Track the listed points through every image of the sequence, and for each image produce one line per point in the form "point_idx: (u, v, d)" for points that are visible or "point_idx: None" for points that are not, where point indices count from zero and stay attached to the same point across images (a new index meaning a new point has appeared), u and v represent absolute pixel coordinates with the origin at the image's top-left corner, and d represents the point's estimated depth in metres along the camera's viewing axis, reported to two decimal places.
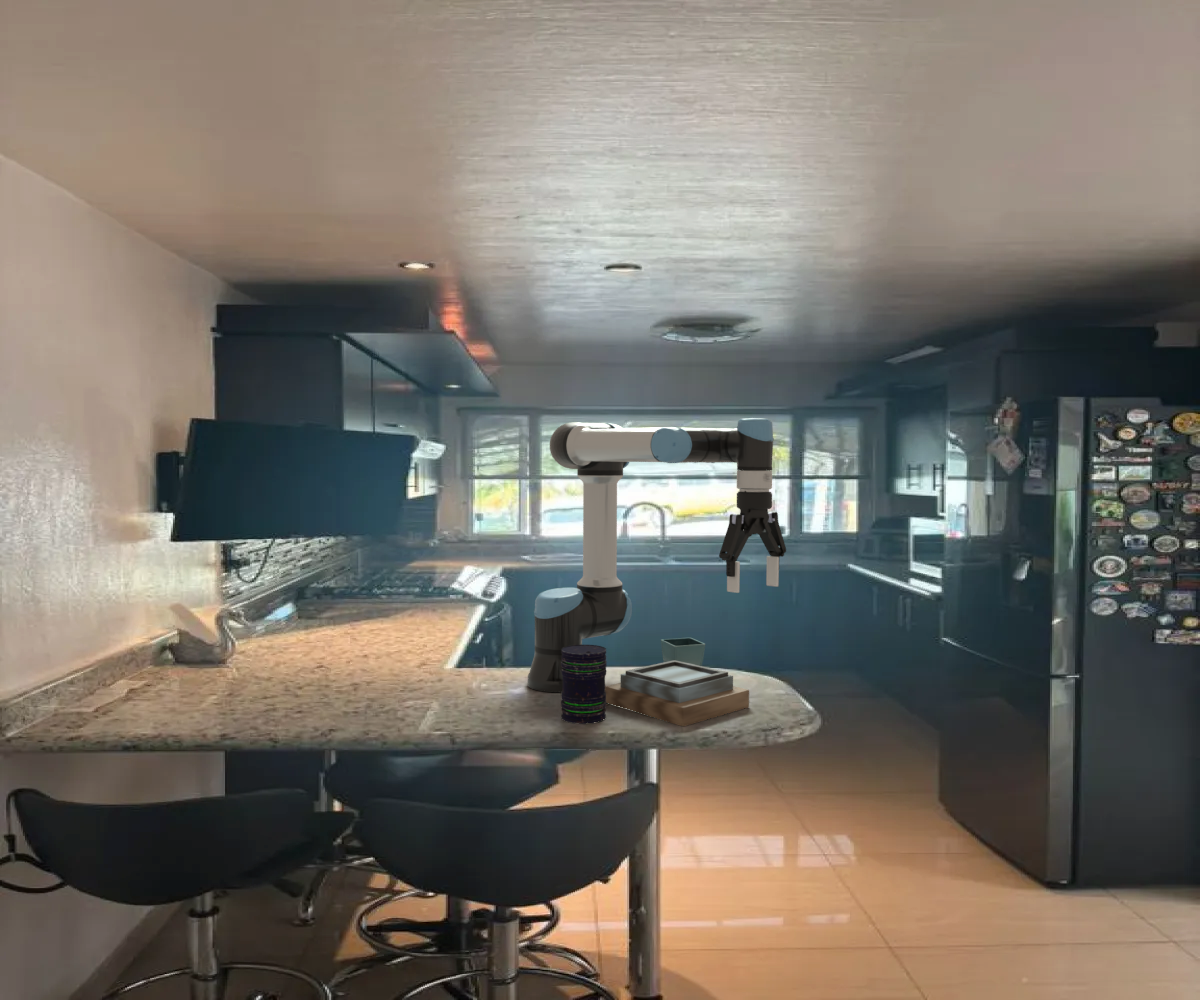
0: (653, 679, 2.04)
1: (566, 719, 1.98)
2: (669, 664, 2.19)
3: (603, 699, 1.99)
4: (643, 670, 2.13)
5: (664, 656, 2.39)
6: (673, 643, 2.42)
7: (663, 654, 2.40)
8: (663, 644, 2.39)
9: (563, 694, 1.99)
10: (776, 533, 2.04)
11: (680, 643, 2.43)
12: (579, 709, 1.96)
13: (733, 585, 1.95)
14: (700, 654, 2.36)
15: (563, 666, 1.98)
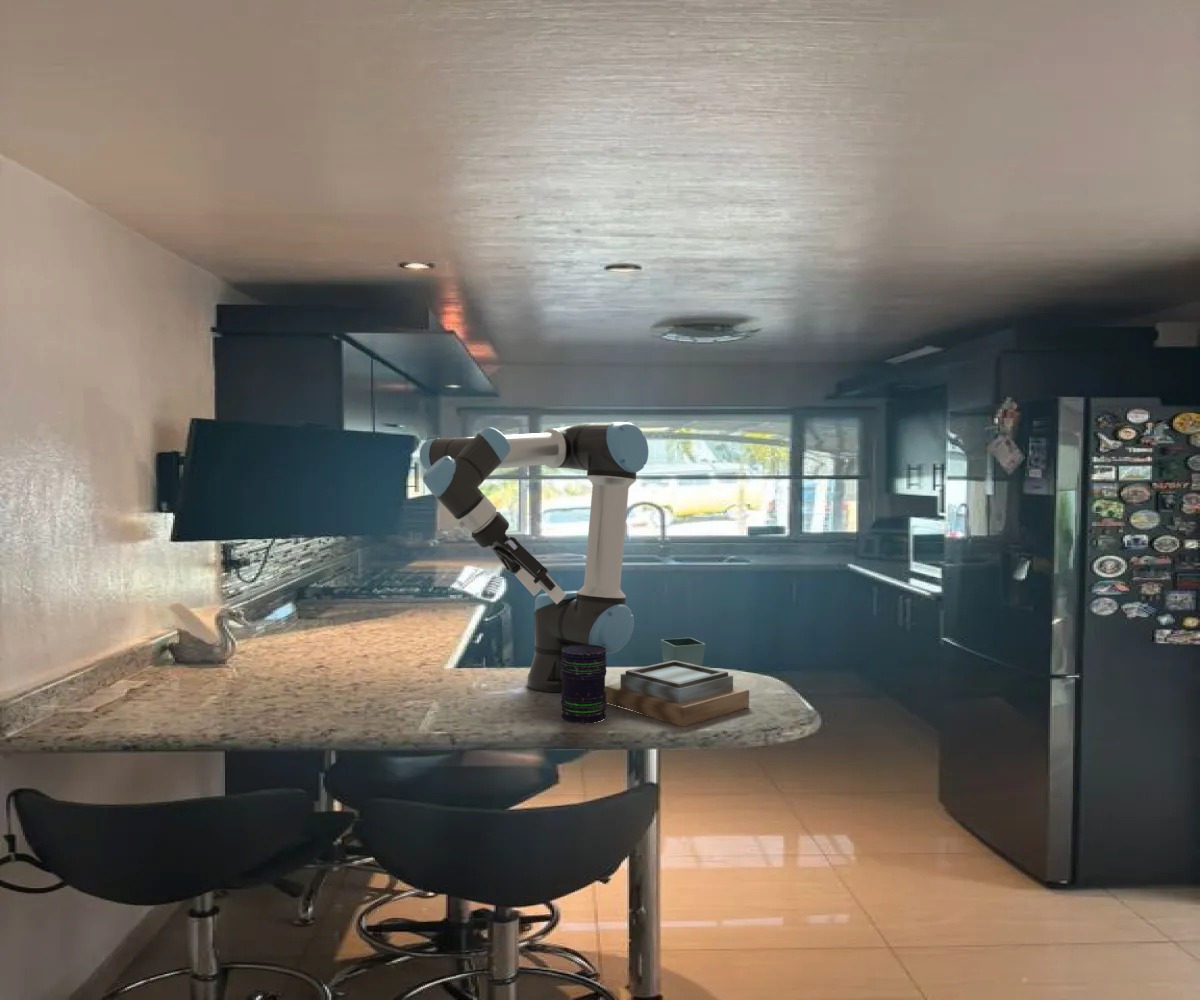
0: (653, 679, 2.04)
1: (566, 719, 1.98)
2: (669, 664, 2.19)
3: (603, 699, 1.99)
4: (643, 670, 2.13)
5: (664, 656, 2.39)
6: (673, 643, 2.42)
7: (663, 654, 2.40)
8: (663, 644, 2.39)
9: (563, 694, 1.99)
10: None
11: (680, 643, 2.43)
12: (579, 709, 1.96)
13: None
14: (700, 654, 2.36)
15: (563, 666, 1.98)
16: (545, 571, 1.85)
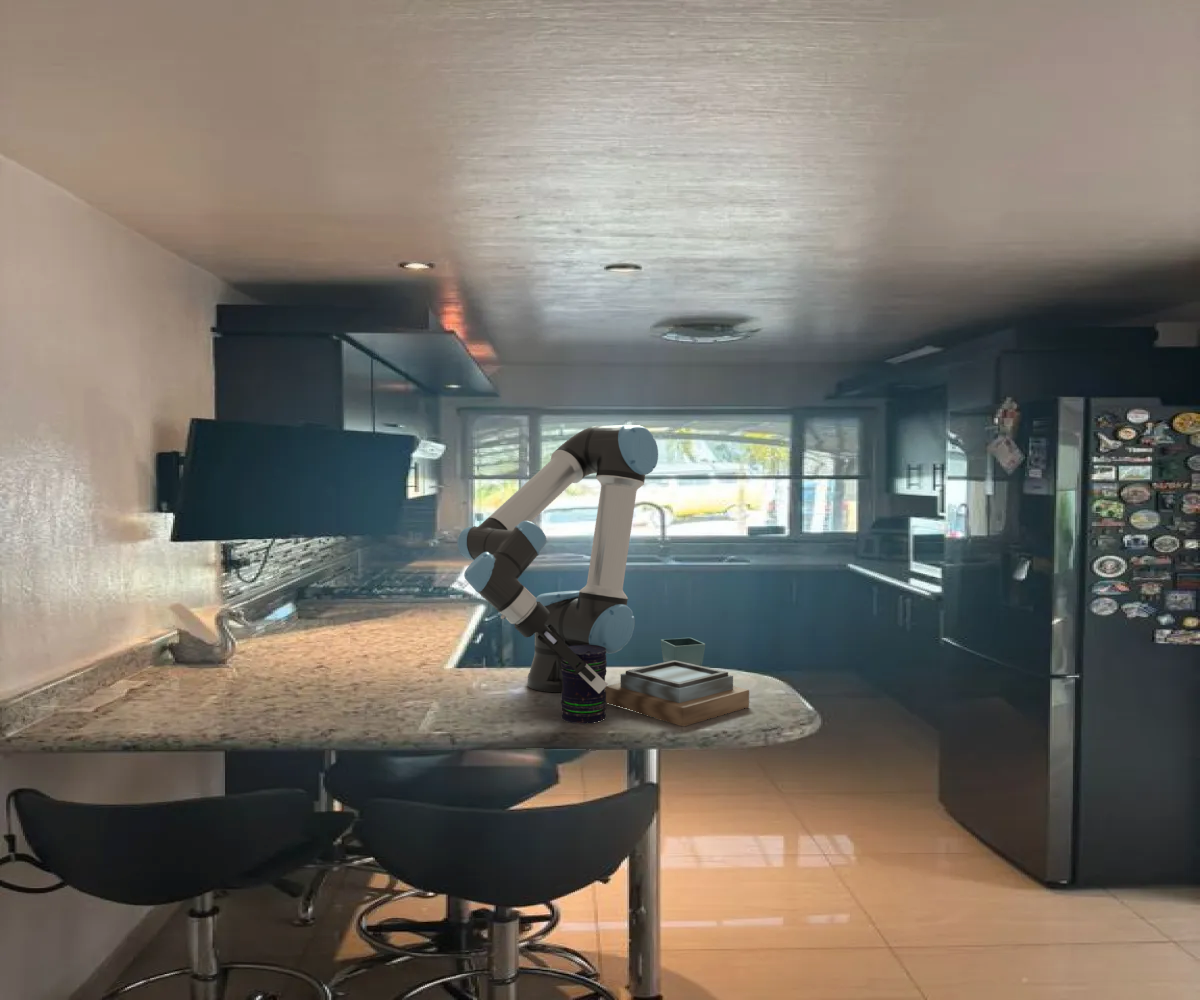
0: (653, 679, 2.04)
1: (566, 719, 1.98)
2: (669, 664, 2.19)
3: (603, 699, 1.99)
4: (643, 670, 2.13)
5: (664, 656, 2.39)
6: (673, 643, 2.42)
7: (663, 654, 2.40)
8: (663, 644, 2.39)
9: (563, 694, 1.99)
10: None
11: (680, 643, 2.43)
12: (579, 709, 1.96)
13: None
14: (700, 654, 2.36)
15: (563, 666, 1.98)
16: (583, 665, 1.92)
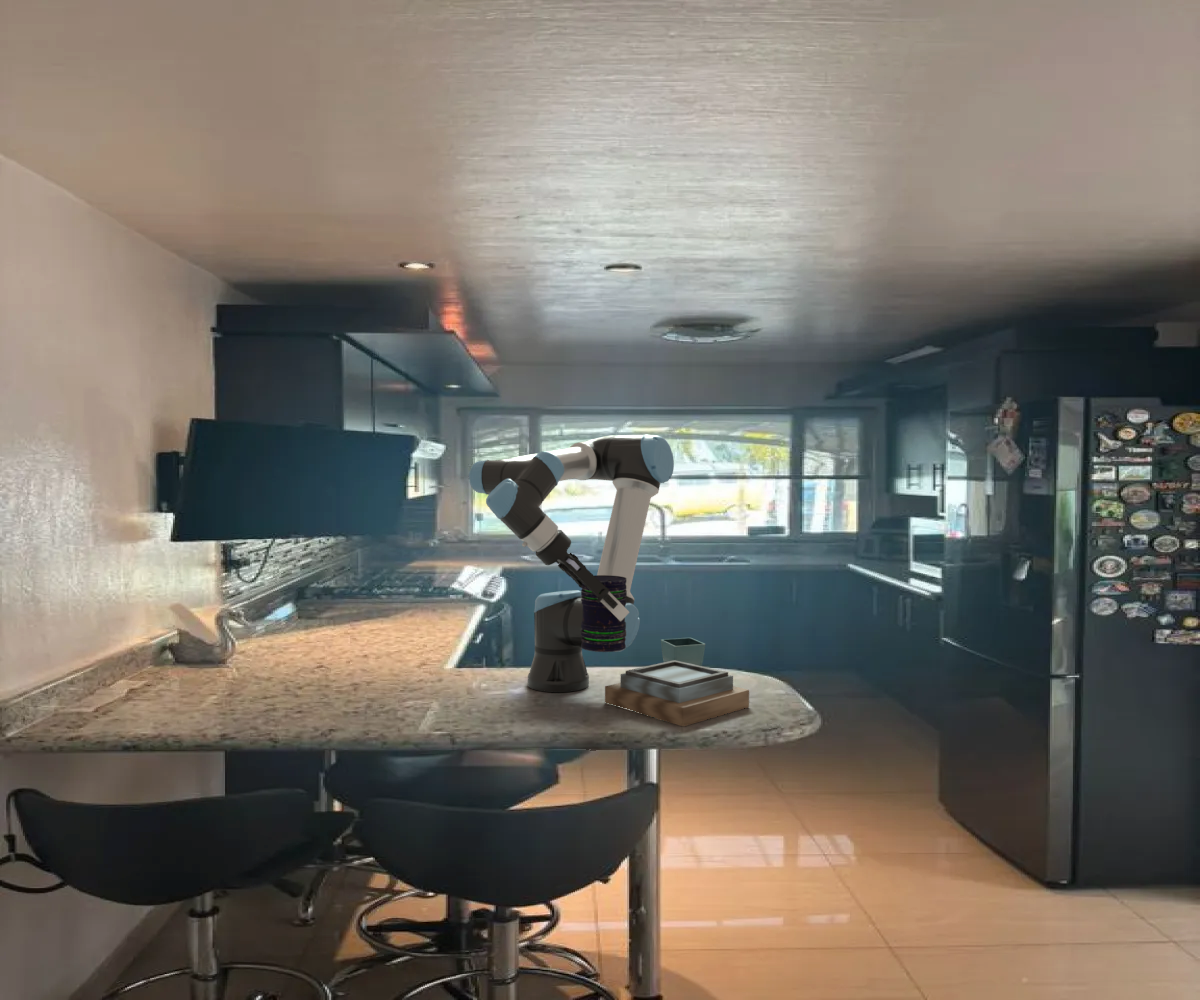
0: (653, 679, 2.04)
1: (587, 648, 1.97)
2: (669, 664, 2.19)
3: (624, 628, 1.98)
4: (643, 670, 2.13)
5: (664, 656, 2.39)
6: (673, 643, 2.42)
7: (663, 654, 2.40)
8: (663, 644, 2.39)
9: (583, 623, 1.98)
10: None
11: (680, 643, 2.43)
12: (601, 637, 1.96)
13: None
14: (700, 654, 2.36)
15: (584, 595, 1.97)
16: (607, 591, 1.91)
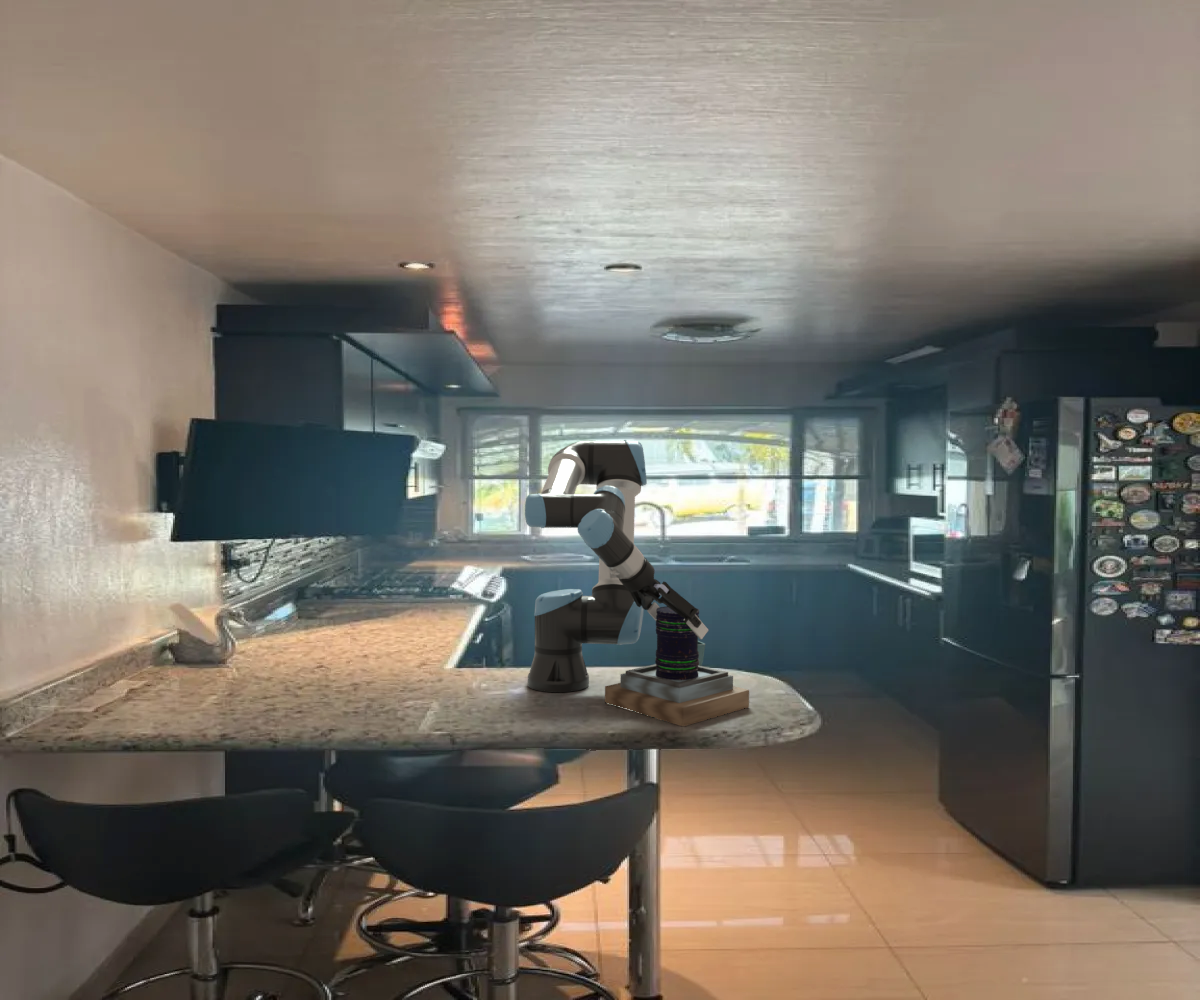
0: (653, 679, 2.04)
1: (667, 677, 2.06)
2: None
3: (698, 655, 2.09)
4: (643, 670, 2.13)
5: None
6: None
7: None
8: None
9: (662, 653, 2.07)
10: None
11: None
12: (683, 666, 2.05)
13: None
14: (700, 654, 2.36)
15: (664, 626, 2.06)
16: (696, 611, 2.00)
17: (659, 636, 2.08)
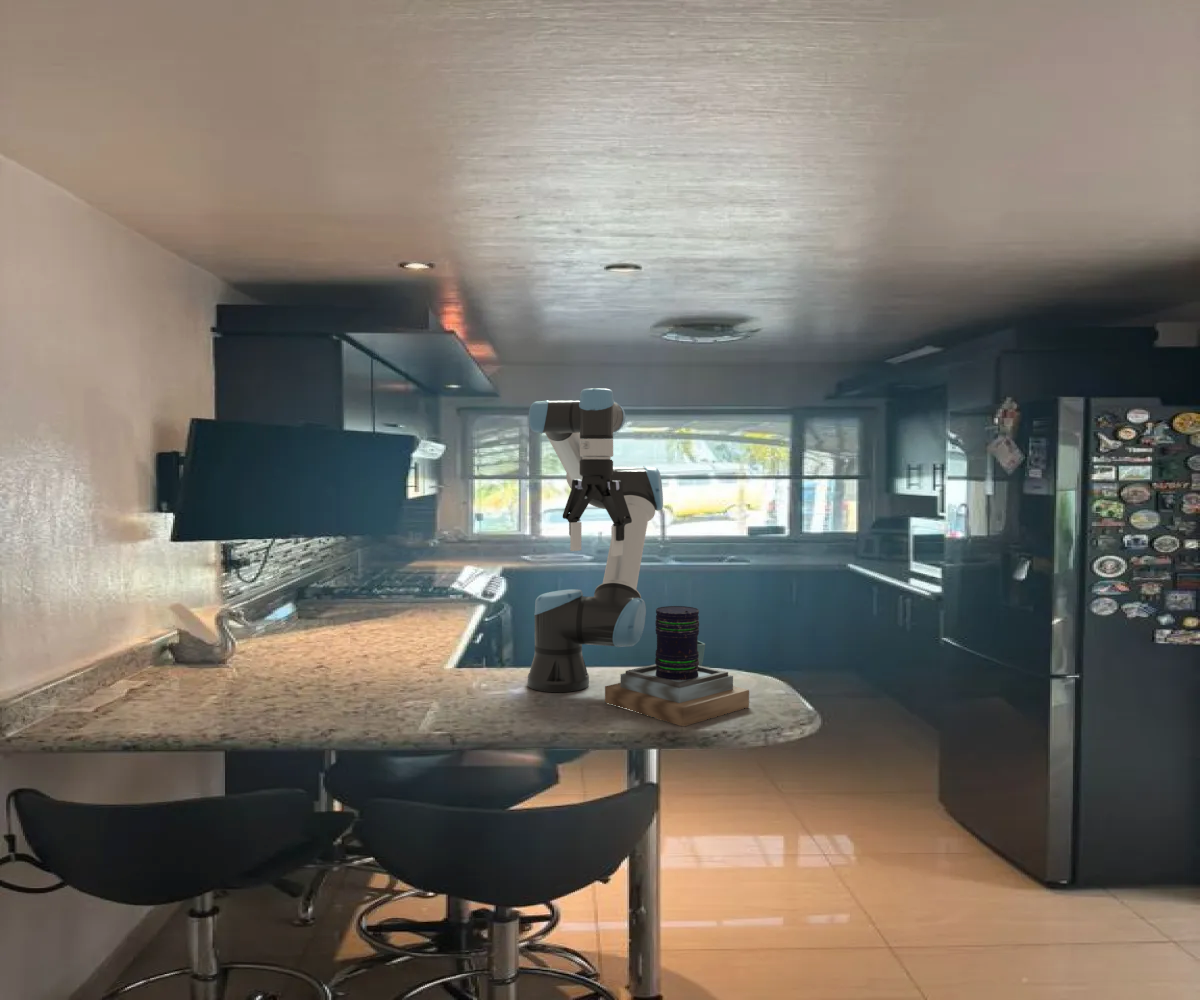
0: (653, 679, 2.04)
1: (667, 677, 2.06)
2: None
3: (698, 655, 2.09)
4: (643, 670, 2.13)
5: None
6: None
7: None
8: None
9: (662, 654, 2.07)
10: None
11: None
12: (683, 666, 2.05)
13: None
14: (700, 654, 2.36)
15: (663, 626, 2.06)
16: (630, 521, 2.01)
17: (659, 636, 2.08)
